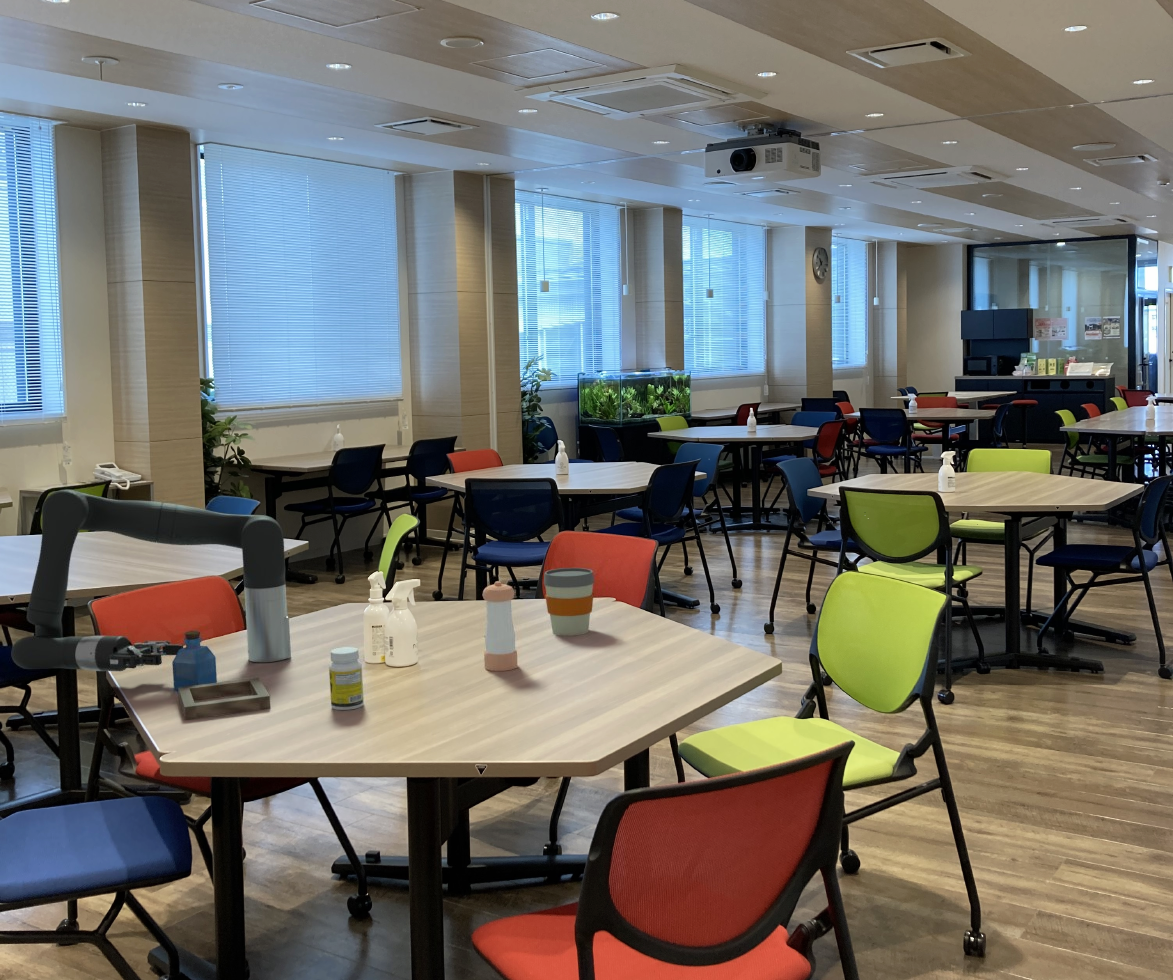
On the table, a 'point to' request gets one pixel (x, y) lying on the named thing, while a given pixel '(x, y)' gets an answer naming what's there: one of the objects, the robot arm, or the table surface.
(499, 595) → the pepper shaker
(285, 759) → the table surface
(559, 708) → the table surface
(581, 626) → the reusable coffee cup
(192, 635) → the perfume bottle
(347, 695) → the supplement bottle
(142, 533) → the robot arm
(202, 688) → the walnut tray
